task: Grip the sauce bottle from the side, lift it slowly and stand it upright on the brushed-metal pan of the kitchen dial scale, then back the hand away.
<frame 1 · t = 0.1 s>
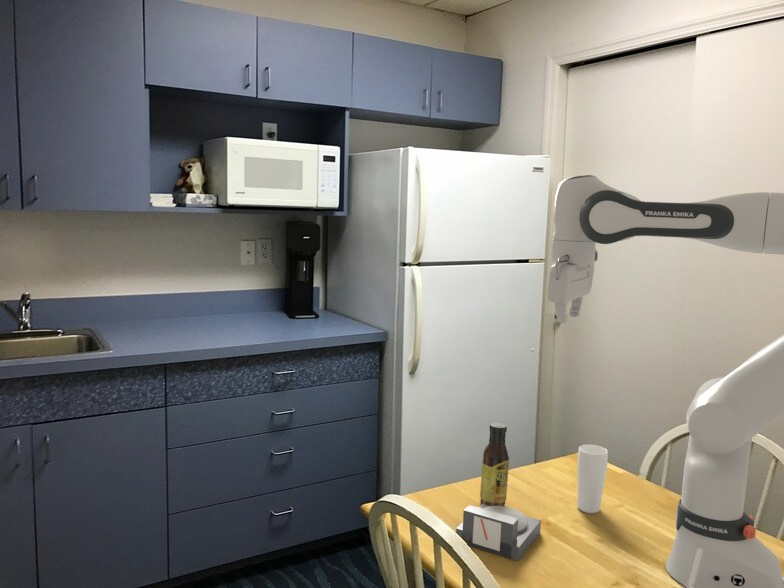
hand: (568, 319, 142), 48 cm above the table, tool pointing down, fingers open, 8 cm apart
drinking glass: (588, 510, 161), on the table
kitchen scale: (498, 537, 146), on the table
sauce bottle: (492, 505, 162), on the table
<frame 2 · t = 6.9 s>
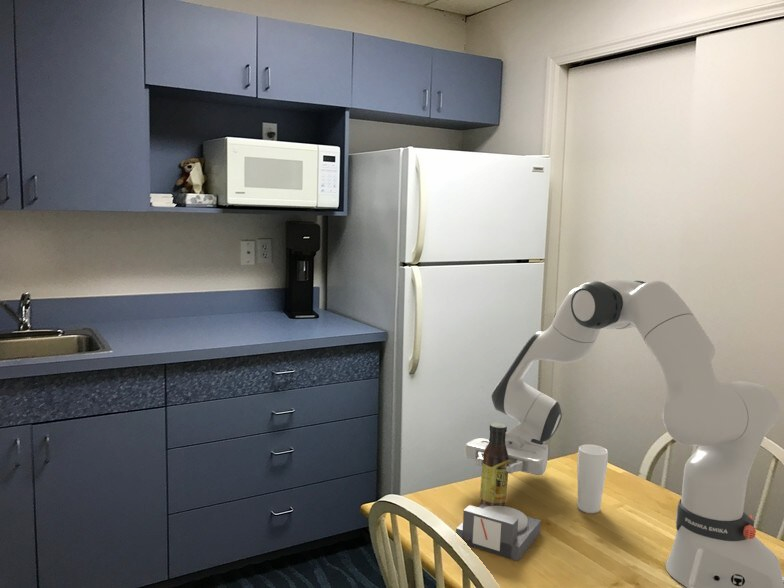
hand: (493, 466, 159), 10 cm above the table, tool horizontal, fingers closed on sauce bottle, 6 cm apart
sauce bottle: (492, 505, 162), on the table, touching gripper
everything else where it was.
when the fingers open (15 cm above the table, at t = 14.7 s): sauce bottle drops 1 cm, resting on kitchen scale.
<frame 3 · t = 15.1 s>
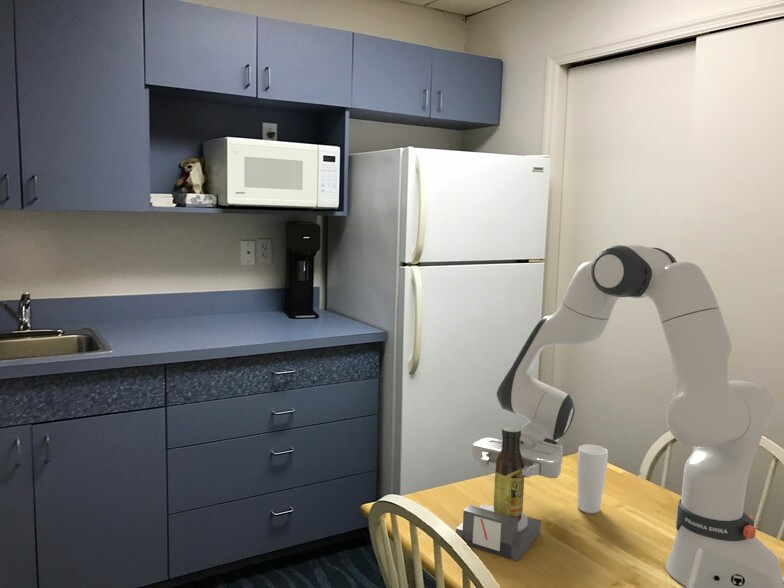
hand: (503, 468, 144), 15 cm above the table, tool horizontal, fingers open, 8 cm apart
sauce bottle: (508, 519, 146), point 4 cm above the table, touching gripper, kitchen scale
everything else where it was.
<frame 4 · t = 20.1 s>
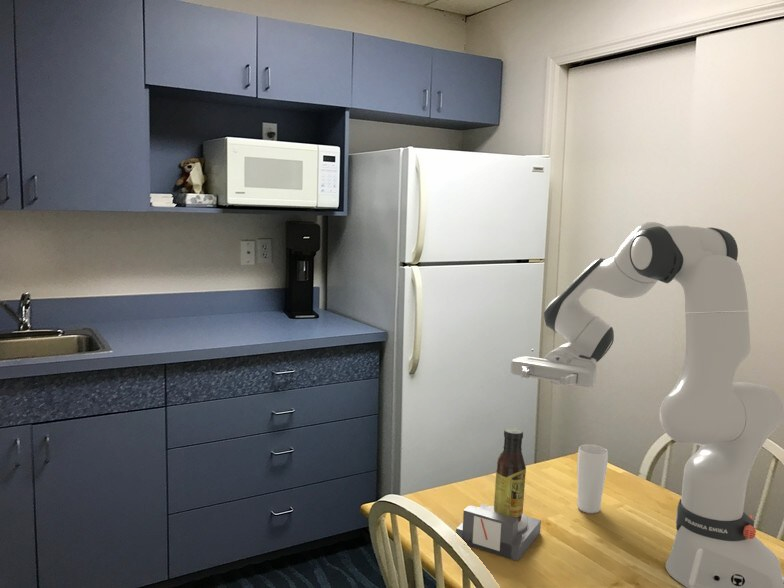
hand: (543, 378, 156), 32 cm above the table, tool horizontal, fingers open, 8 cm apart
sauce bottle: (508, 519, 146), point 4 cm above the table, touching kitchen scale
everything else where it was.
at the end: sauce bottle inside the target area on the kitchen scale (1.4 cm from its centre), point 3.8 cm above the kitchen scale's base; sauce bottle tilted 1°; the gripper is holding nothing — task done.
